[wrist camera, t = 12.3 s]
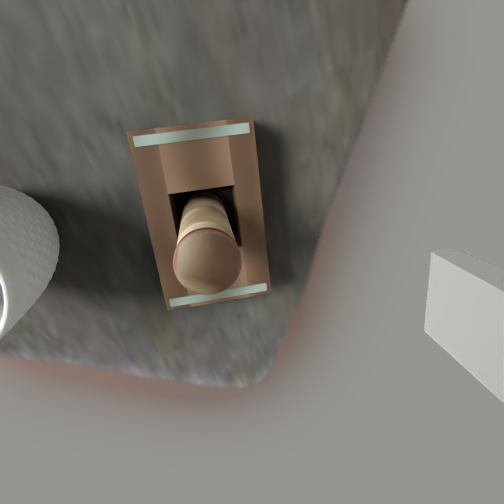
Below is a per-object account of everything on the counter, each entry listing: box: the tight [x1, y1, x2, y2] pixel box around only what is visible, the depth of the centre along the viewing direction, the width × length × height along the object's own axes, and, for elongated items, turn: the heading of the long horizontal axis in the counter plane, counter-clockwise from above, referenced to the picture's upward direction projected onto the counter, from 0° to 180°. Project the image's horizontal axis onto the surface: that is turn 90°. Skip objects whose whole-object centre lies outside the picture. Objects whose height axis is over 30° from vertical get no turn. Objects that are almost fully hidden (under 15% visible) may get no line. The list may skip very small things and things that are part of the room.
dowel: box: [173, 191, 242, 295], centre depth 27 cm, size 4×4×14 cm
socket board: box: [126, 117, 271, 311], centre depth 32 cm, size 10×16×4 cm, turn 7°
